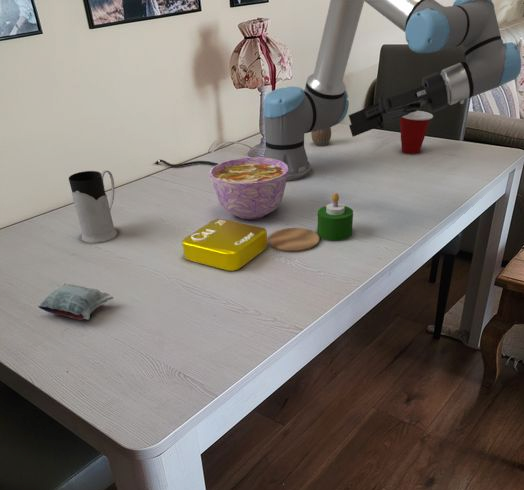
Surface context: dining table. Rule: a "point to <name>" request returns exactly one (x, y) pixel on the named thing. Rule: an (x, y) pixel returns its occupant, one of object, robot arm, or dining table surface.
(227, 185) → the bowl of food
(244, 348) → the dining table surface
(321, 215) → the candle
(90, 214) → the glass holder
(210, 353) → the dining table surface
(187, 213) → the dining table surface
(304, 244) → the cork trivet
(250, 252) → the element tile
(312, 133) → the vase
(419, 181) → the dining table surface
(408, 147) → the plastic cup
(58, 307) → the packaged food
